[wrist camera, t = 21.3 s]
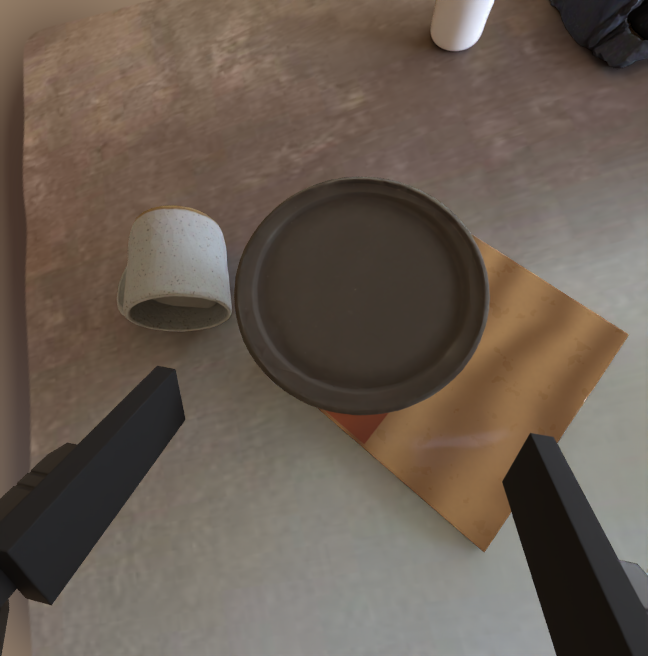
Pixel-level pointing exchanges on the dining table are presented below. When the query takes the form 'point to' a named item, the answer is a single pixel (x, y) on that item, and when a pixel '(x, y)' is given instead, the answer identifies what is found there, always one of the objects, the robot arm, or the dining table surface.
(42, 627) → the dining table surface
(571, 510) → the robot arm
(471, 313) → the coffee can
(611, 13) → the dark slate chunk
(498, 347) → the placemat
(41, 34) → the dining table surface
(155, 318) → the ceramic mug
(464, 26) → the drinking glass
